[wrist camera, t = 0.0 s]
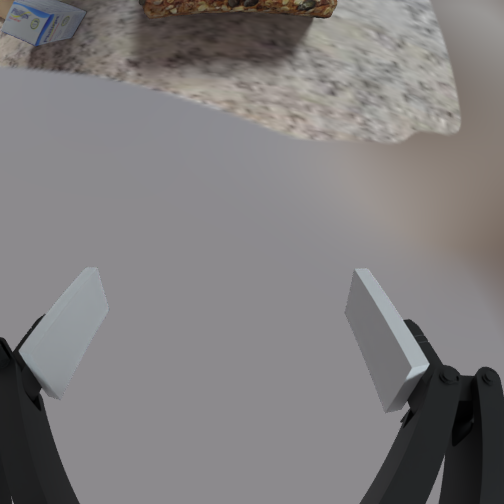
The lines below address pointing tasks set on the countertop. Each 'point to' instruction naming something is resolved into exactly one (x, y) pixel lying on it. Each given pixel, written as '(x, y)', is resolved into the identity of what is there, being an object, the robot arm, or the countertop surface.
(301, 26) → the countertop surface
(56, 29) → the medicine box
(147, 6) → the bread
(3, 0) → the light brown wooden board
